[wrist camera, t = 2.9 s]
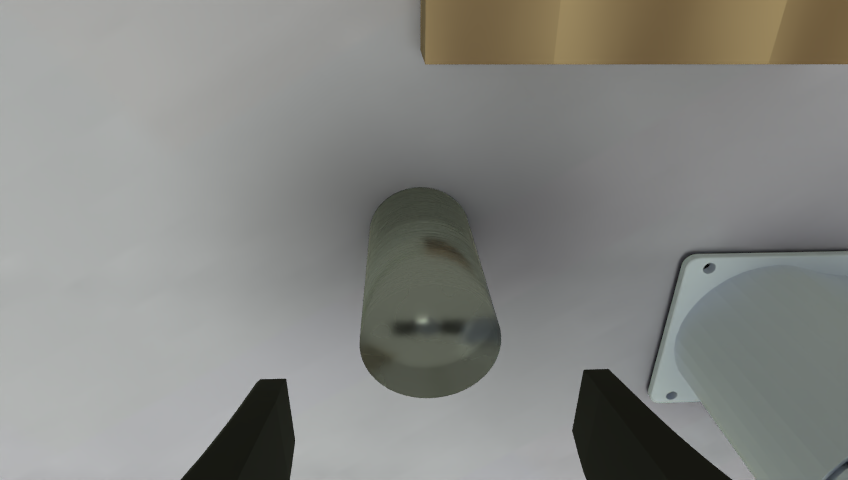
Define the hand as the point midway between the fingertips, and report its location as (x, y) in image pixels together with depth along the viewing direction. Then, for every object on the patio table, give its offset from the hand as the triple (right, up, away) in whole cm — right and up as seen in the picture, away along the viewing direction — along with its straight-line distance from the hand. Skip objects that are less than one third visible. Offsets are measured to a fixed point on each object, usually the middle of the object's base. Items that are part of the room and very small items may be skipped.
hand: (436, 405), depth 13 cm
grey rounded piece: (0, +4, +8) cm, 9 cm away
